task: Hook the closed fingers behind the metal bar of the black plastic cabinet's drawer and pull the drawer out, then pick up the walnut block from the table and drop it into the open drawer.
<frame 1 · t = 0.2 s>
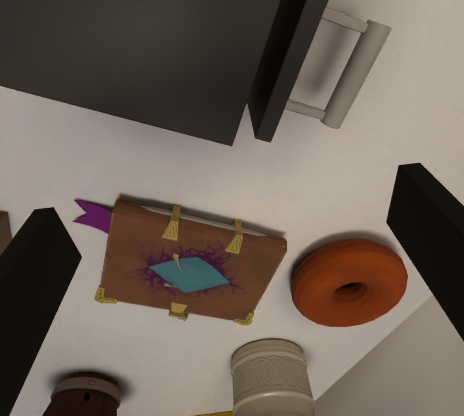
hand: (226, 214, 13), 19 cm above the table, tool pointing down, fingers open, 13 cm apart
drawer: (234, 35, 22), point 5 cm above the table, slide at 1.5 cm
donut: (341, 270, 44), on the table
flowerpot: (91, 383, 61), on the table
book: (174, 255, 42), on the table
jar: (267, 356, 58), on the table
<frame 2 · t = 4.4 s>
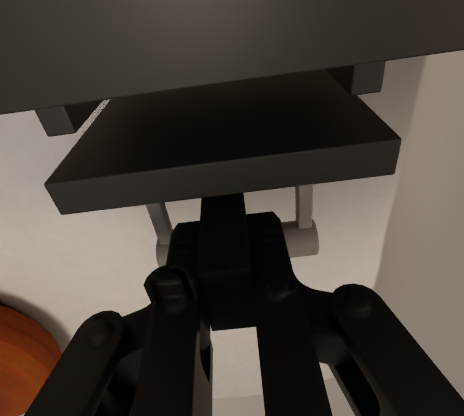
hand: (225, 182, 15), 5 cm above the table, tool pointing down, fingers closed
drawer: (204, 26, 11), point 5 cm above the table, slide at 2.4 cm, touching gripper
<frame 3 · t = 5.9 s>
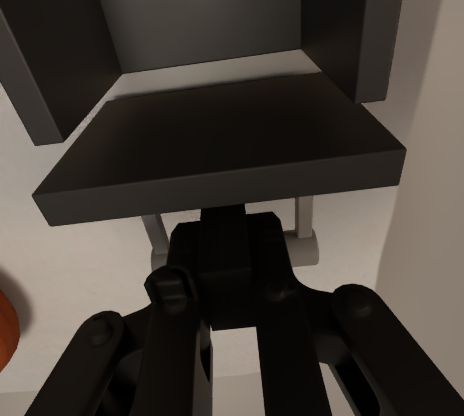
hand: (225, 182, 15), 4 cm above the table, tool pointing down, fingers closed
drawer: (200, 29, 10), point 5 cm above the table, slide at 8.8 cm, touching gripper
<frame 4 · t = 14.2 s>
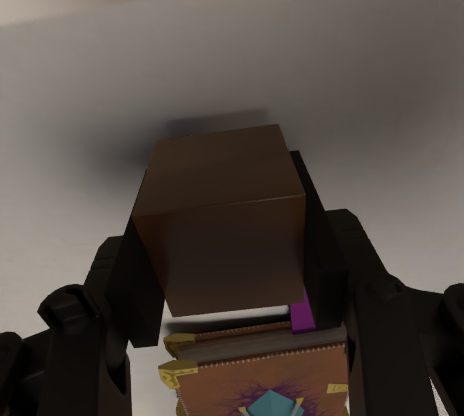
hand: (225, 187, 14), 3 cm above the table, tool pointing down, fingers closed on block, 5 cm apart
block: (225, 183, 15), point 2 cm above the table, touching gripper
book: (256, 365, 30), on the table
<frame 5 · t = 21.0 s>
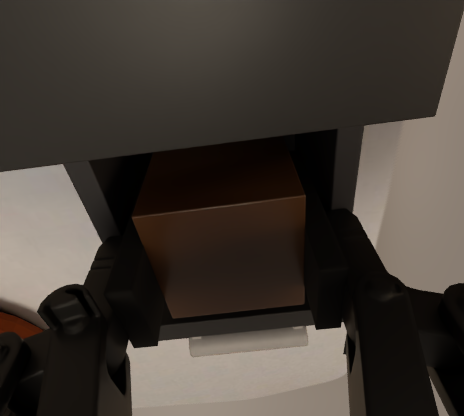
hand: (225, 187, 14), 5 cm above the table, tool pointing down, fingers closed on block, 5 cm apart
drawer: (229, 213, 16), point 5 cm above the table, slide at 8.9 cm
block: (225, 184, 15), point 5 cm above the table, touching gripper
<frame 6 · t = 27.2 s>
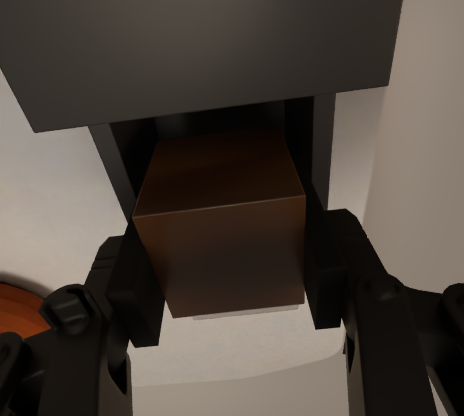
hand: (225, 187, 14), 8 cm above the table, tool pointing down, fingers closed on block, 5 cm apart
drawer: (227, 185, 18), point 5 cm above the table, slide at 8.9 cm
donut: (6, 317, 32), on the table
block: (225, 183, 15), point 8 cm above the table, touching gripper
when the fingers open (8 cm above the table, at t = 32.7 s): block drops 4 cm, resting on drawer.
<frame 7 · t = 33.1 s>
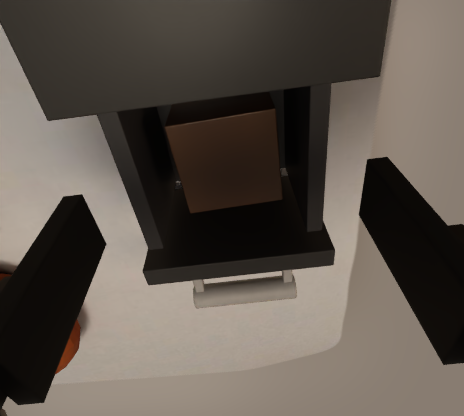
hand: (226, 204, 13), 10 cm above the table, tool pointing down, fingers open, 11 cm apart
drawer: (228, 176, 19), point 5 cm above the table, slide at 9.0 cm, touching block
donut: (12, 308, 33), on the table
block: (226, 125, 20), point 2 cm above the table, touching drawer
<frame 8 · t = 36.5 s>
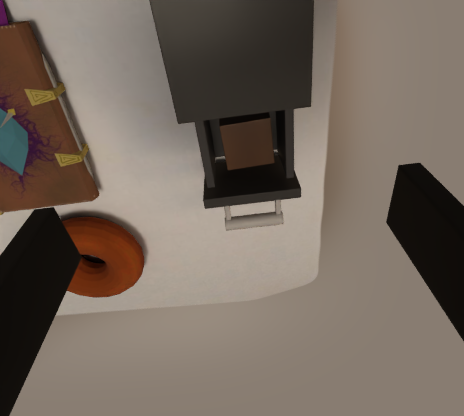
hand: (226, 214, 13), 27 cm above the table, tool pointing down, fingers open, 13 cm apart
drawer: (246, 152, 36), point 5 cm above the table, slide at 9.0 cm, touching block
donut: (98, 246, 50), on the table
block: (244, 125, 37), point 2 cm above the table, touching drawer
cabinet: (230, 5, 31), on the table
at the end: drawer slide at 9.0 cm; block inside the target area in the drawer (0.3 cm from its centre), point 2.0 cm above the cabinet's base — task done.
